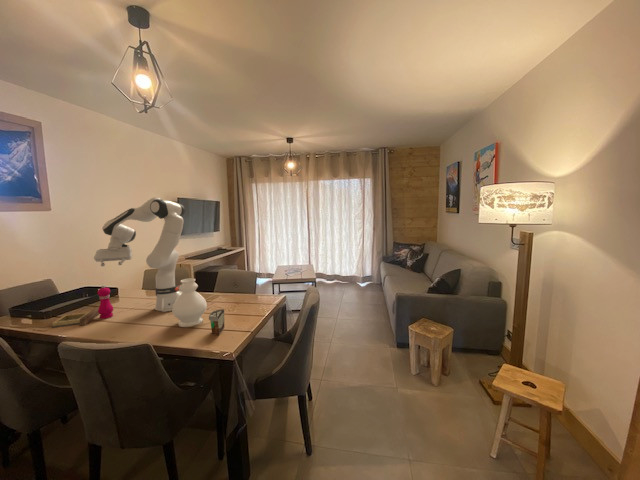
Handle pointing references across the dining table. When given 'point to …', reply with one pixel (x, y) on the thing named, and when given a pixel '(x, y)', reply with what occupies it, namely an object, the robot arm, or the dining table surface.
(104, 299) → the pepper mill
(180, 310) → the decorative vase
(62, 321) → the index plate
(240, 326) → the dining table surface
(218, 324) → the food container
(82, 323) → the walnut sill
